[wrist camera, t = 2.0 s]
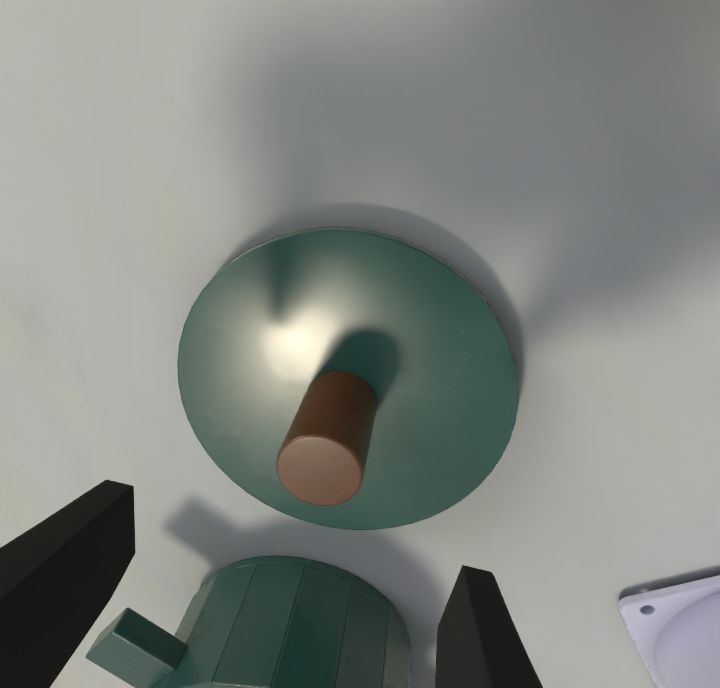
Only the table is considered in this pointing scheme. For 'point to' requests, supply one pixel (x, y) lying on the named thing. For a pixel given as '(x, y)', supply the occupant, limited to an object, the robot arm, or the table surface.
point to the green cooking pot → (266, 633)
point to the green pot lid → (348, 378)
